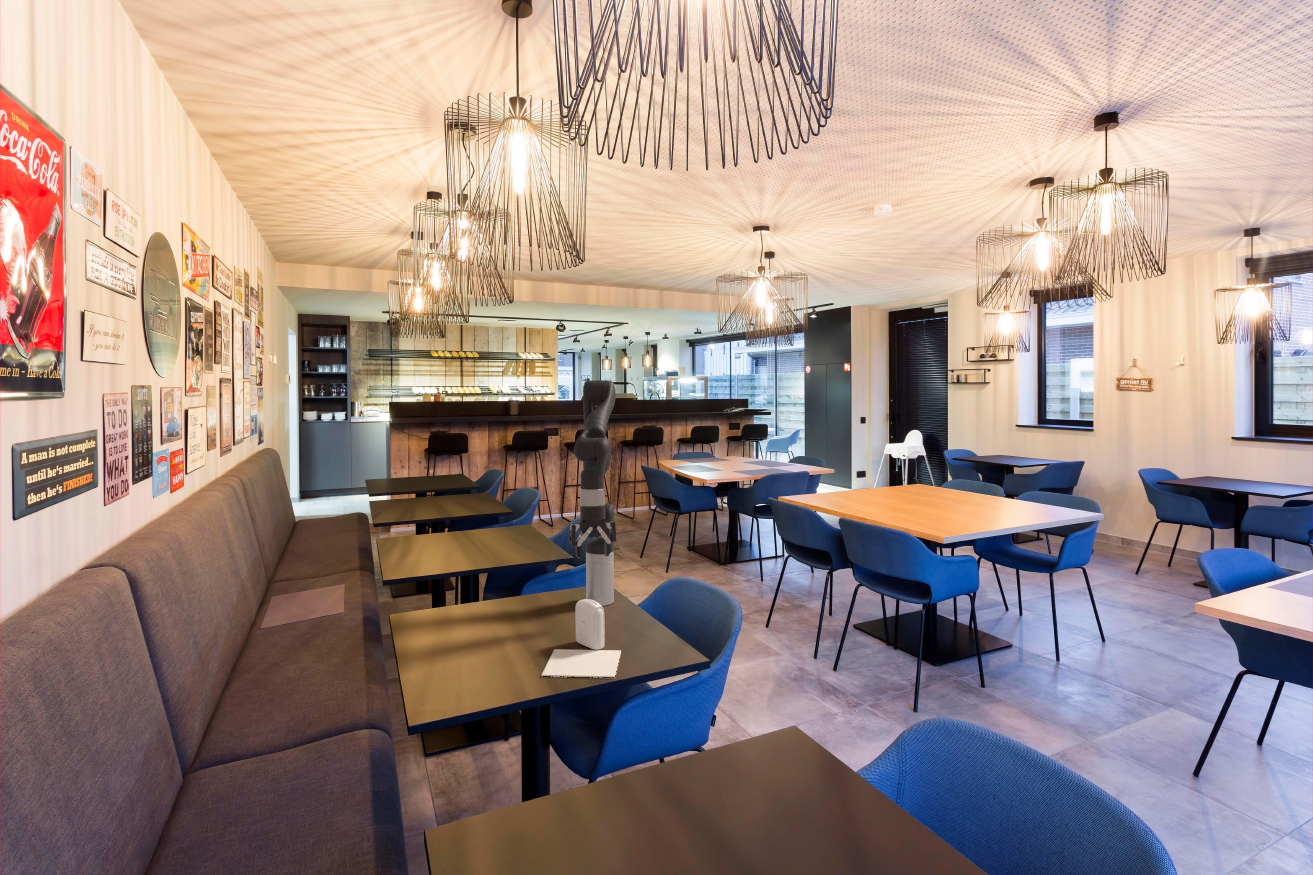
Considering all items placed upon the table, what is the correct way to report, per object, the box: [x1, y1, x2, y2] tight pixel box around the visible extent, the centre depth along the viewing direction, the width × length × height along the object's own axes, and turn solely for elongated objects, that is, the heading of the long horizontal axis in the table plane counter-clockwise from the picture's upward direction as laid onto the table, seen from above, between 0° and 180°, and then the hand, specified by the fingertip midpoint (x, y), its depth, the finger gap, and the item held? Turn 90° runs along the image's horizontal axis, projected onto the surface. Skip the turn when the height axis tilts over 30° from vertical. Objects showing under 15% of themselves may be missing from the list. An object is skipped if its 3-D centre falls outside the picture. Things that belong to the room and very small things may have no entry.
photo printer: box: [574, 598, 606, 650], centre depth 174 cm, size 10×4×12 cm, turn 39°
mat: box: [541, 648, 622, 679], centre depth 162 cm, size 16×18×1 cm
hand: (593, 557), depth 191 cm, fingers open, 8 cm apart
